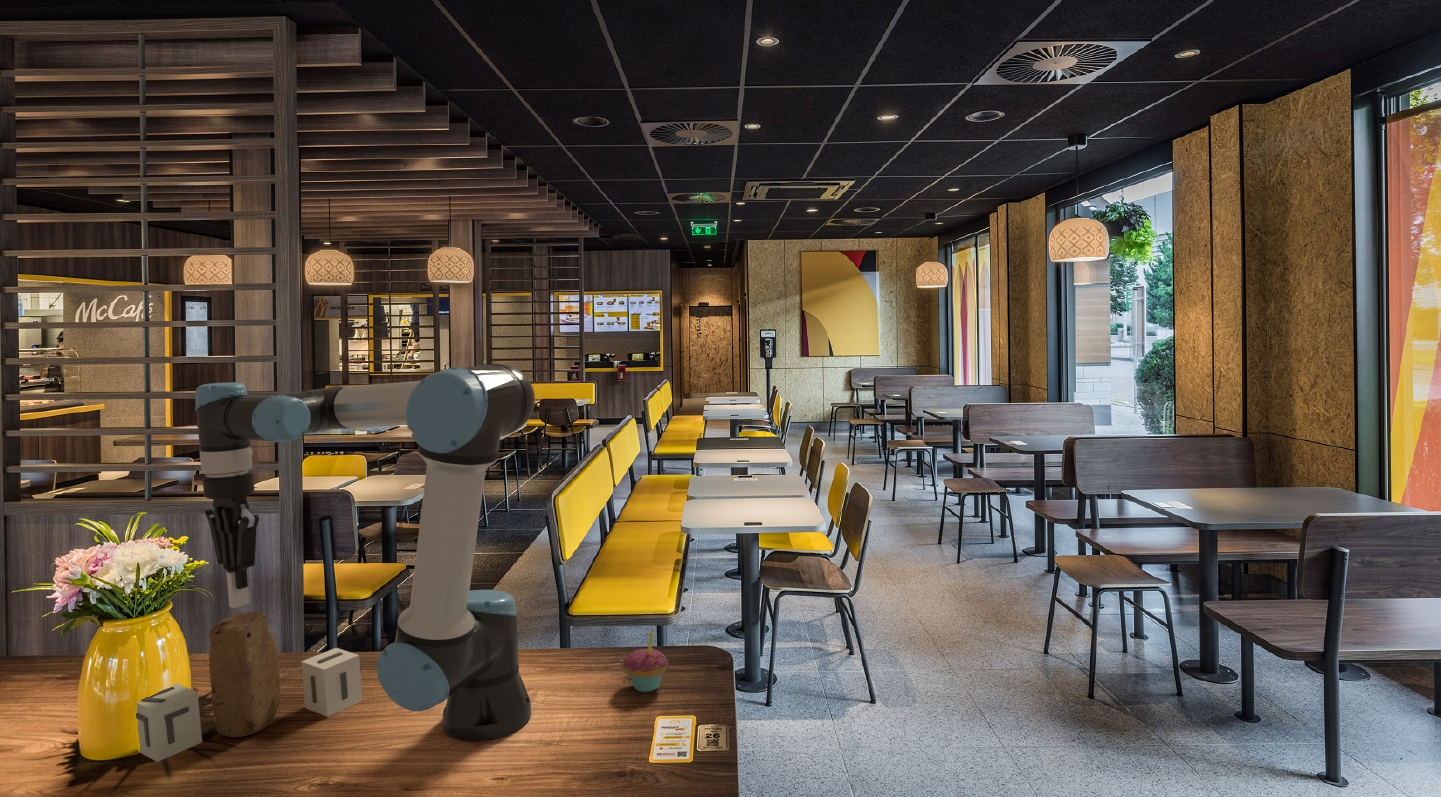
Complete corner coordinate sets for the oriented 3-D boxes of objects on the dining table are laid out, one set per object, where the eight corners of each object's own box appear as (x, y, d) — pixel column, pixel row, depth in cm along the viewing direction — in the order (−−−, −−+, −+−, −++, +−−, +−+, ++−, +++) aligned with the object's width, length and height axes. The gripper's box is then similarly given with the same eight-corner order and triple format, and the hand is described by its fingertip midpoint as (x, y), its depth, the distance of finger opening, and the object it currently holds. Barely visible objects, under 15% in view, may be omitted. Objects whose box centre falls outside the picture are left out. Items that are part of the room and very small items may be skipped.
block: (251, 741, 140) (241, 628, 138) (210, 740, 141) (199, 628, 138) (289, 710, 151) (280, 605, 149) (251, 709, 151) (241, 605, 149)
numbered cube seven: (203, 742, 140) (197, 691, 139) (156, 763, 134) (150, 709, 133) (181, 732, 144) (176, 681, 143) (135, 751, 138) (129, 699, 137)
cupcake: (677, 682, 158) (675, 622, 157) (650, 701, 151) (648, 638, 150) (641, 673, 163) (639, 614, 161) (614, 690, 156) (611, 629, 154)
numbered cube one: (363, 701, 154) (359, 653, 153) (327, 718, 148) (323, 668, 147) (339, 692, 158) (336, 646, 156) (303, 708, 151) (299, 660, 150)
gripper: (270, 472, 140) (281, 604, 143) (230, 465, 147) (241, 592, 150) (225, 480, 134) (237, 619, 137) (185, 473, 141) (197, 605, 144)
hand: (239, 605), depth 143 cm, fingers closed
